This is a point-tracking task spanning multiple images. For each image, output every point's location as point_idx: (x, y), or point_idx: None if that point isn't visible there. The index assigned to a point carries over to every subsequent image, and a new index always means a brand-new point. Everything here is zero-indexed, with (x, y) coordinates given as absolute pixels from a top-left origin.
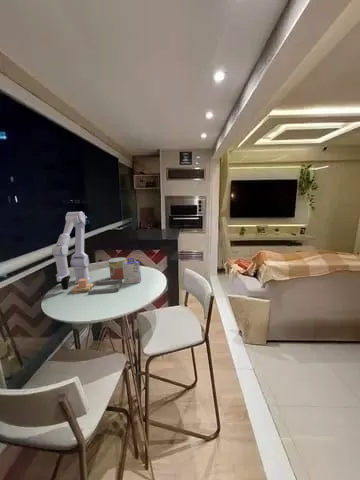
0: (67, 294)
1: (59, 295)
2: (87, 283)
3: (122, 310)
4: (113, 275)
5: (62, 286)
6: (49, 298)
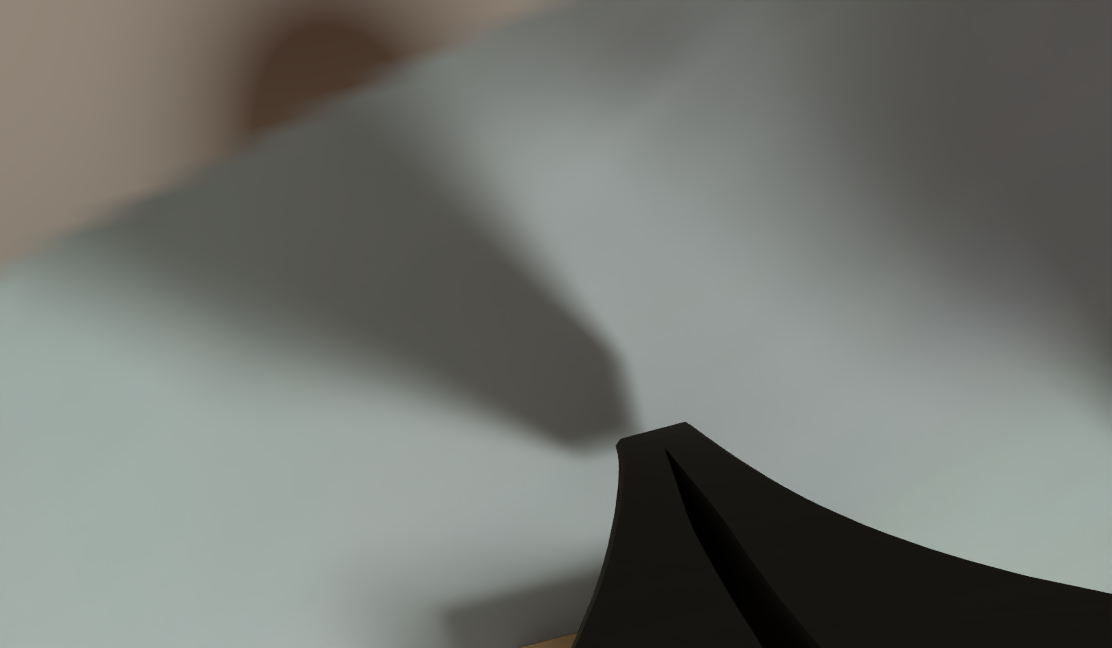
0: (439, 603)
1: (348, 449)
2: None
3: None
4: None
5: (621, 515)
6: (79, 300)
